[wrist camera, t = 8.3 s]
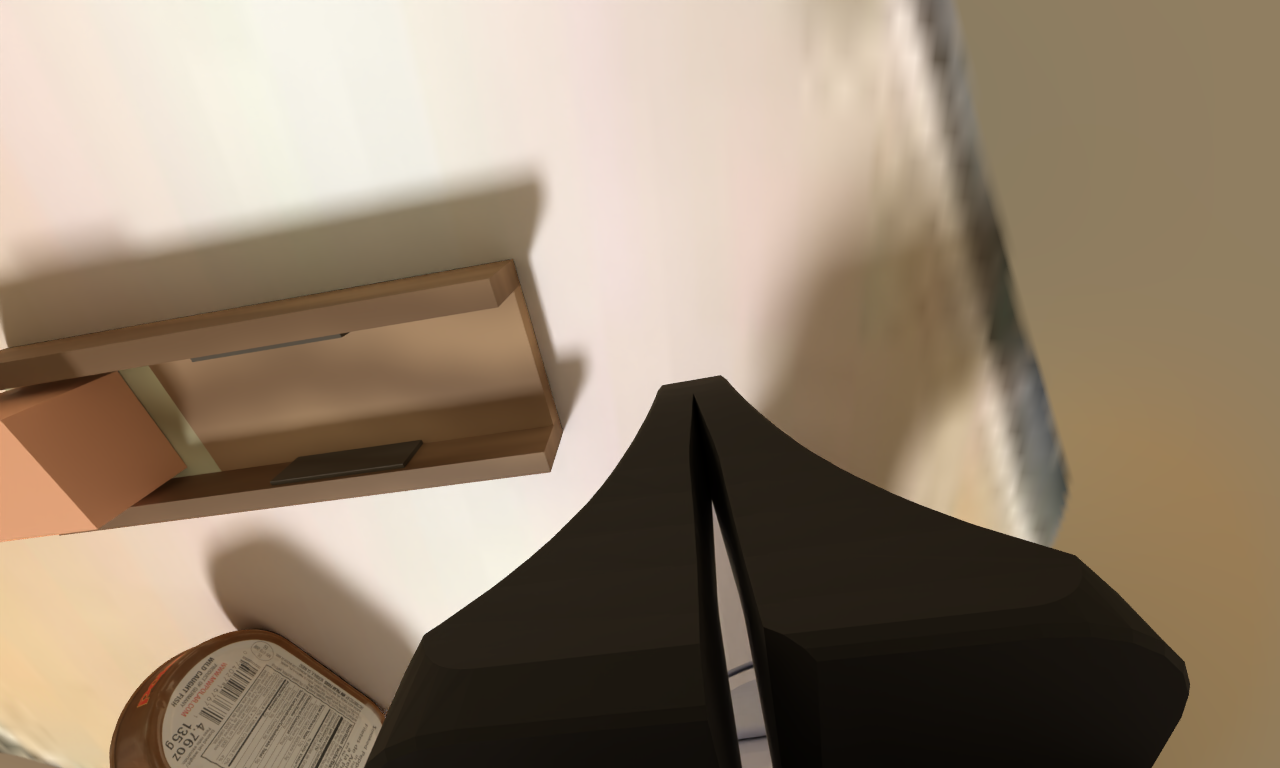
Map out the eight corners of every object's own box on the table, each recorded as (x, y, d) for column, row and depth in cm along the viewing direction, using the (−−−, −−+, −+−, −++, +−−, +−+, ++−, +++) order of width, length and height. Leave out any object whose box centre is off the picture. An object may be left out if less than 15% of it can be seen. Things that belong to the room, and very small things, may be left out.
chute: (562, 432, 22) (550, 471, 19) (125, 492, 24) (59, 535, 22) (512, 259, 18) (488, 278, 16) (6, 348, 21) (-90, 378, 18)
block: (187, 467, 22) (97, 529, 19) (93, 480, 23) (-12, 543, 19) (117, 370, 20) (0, 420, 16) (14, 387, 20) (-121, 439, 17)
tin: (206, 613, 29) (45, 781, 21) (239, 594, 28) (85, 762, 20) (388, 737, 34) (313, 905, 27) (421, 724, 33) (353, 894, 26)
